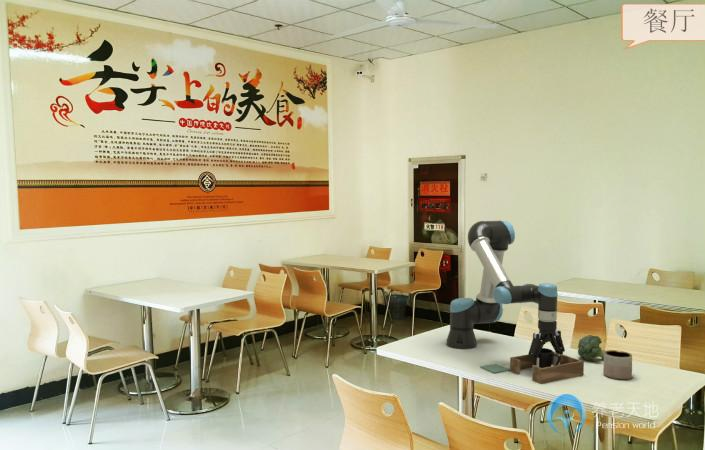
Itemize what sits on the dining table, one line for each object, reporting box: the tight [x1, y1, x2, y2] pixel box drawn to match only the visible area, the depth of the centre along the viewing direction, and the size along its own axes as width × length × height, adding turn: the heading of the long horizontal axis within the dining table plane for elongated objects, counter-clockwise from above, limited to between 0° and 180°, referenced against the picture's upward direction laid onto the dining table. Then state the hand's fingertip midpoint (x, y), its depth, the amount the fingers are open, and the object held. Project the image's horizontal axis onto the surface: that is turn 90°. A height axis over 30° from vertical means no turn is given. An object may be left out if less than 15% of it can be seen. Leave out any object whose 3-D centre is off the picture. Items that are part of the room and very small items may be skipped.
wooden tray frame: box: [509, 350, 585, 385], centre depth 235 cm, size 18×24×6 cm
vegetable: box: [577, 334, 606, 361], centre depth 254 cm, size 12×13×15 cm
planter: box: [602, 349, 633, 381], centre depth 231 cm, size 11×11×10 cm
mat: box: [479, 363, 511, 374], centre depth 240 cm, size 9×9×1 cm
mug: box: [535, 347, 560, 368], centre depth 235 cm, size 8×12×10 cm
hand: (546, 370), depth 235 cm, fingers open, 11 cm apart
